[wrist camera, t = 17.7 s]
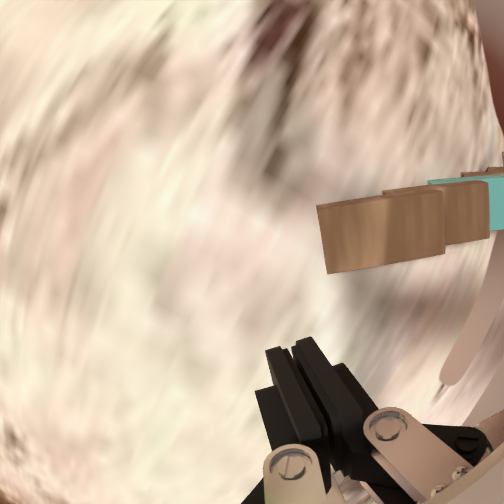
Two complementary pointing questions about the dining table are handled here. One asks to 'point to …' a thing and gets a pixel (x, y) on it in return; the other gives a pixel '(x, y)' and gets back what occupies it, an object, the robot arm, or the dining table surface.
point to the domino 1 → (382, 229)
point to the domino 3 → (500, 196)
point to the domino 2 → (461, 209)
